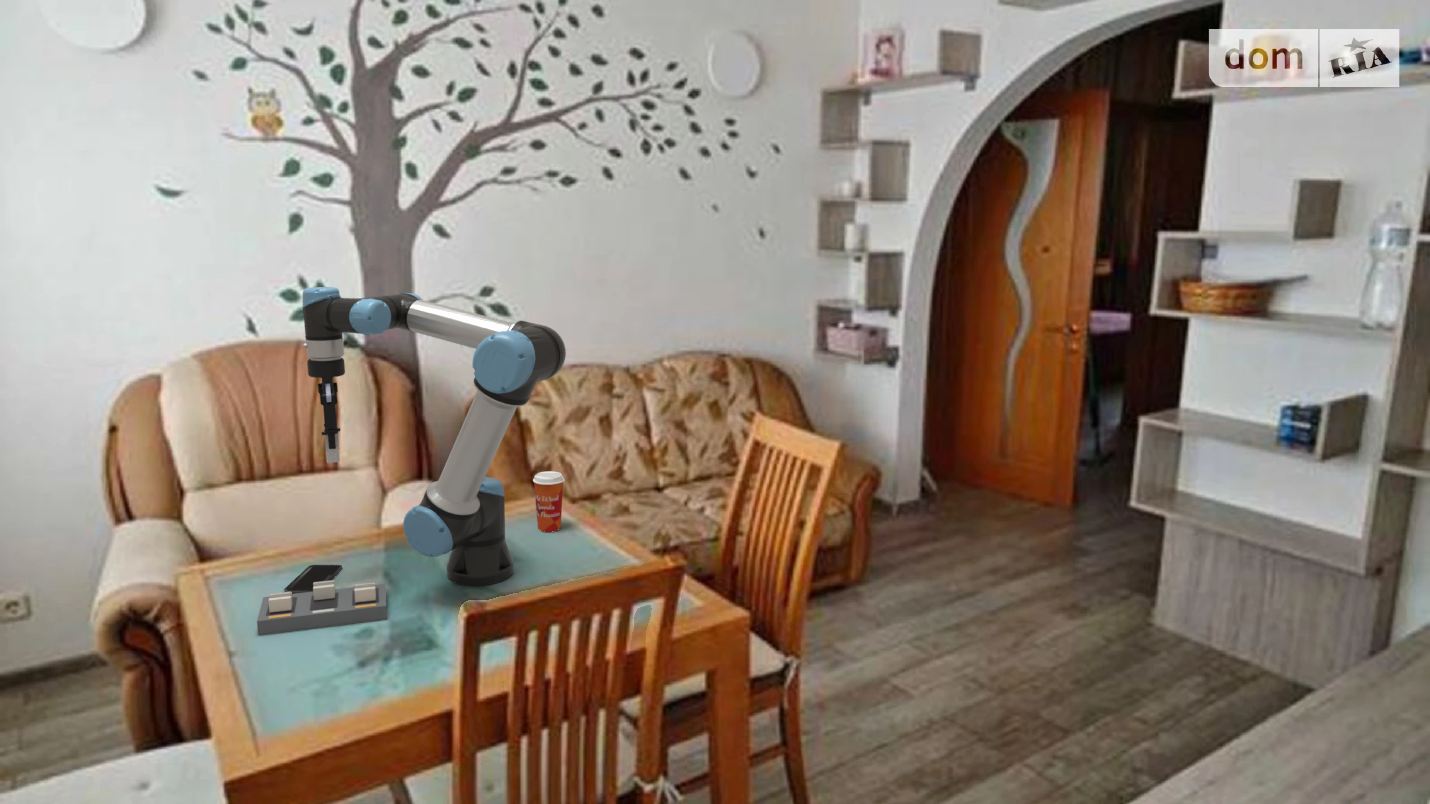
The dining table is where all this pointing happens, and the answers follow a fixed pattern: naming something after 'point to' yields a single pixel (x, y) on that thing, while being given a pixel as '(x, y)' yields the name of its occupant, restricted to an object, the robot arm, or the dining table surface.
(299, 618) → the switch board
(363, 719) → the dining table surface
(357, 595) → the switch tab
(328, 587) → the switch tab
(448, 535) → the robot arm
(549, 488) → the coffee cup
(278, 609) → the switch tab
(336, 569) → the phone
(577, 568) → the dining table surface
